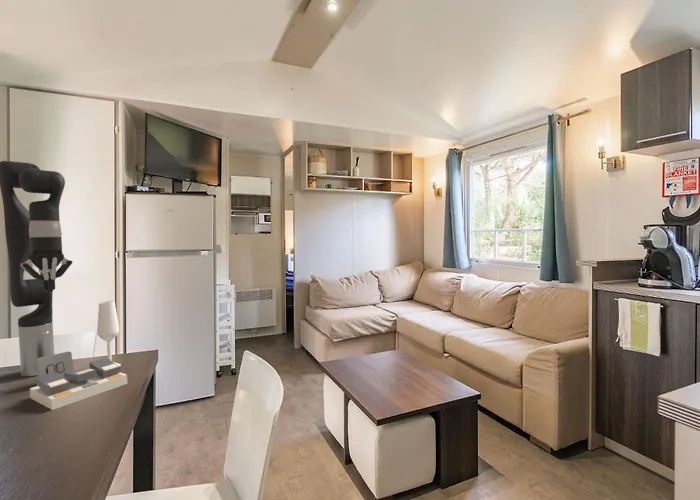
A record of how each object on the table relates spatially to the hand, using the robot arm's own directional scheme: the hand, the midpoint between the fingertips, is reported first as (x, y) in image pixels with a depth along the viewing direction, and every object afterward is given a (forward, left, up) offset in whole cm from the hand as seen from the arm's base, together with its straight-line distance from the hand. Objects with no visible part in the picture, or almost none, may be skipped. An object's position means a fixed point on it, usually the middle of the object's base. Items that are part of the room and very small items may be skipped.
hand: (48, 291), depth 112 cm
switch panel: (+8, +4, -31) cm, 32 cm away
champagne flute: (-6, +19, -31) cm, 37 cm away
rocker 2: (+8, +11, -26) cm, 29 cm away
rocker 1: (+8, -3, -26) cm, 27 cm away
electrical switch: (-8, +3, -31) cm, 32 cm away
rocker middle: (+8, +4, -26) cm, 27 cm away
